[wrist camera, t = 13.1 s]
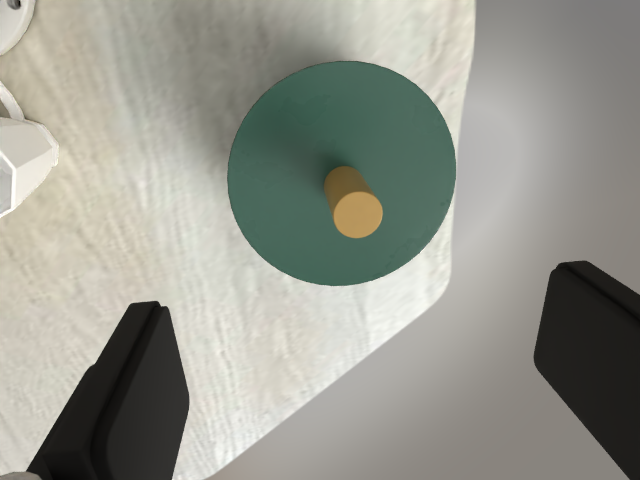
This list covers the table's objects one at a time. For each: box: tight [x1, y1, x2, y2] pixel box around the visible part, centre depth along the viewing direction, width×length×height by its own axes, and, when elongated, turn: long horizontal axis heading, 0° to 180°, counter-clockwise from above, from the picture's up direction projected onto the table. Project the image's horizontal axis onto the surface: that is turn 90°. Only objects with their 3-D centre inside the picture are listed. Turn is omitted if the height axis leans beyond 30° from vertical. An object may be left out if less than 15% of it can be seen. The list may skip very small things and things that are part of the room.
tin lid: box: [227, 61, 456, 286], centre depth 23 cm, size 14×14×6 cm
